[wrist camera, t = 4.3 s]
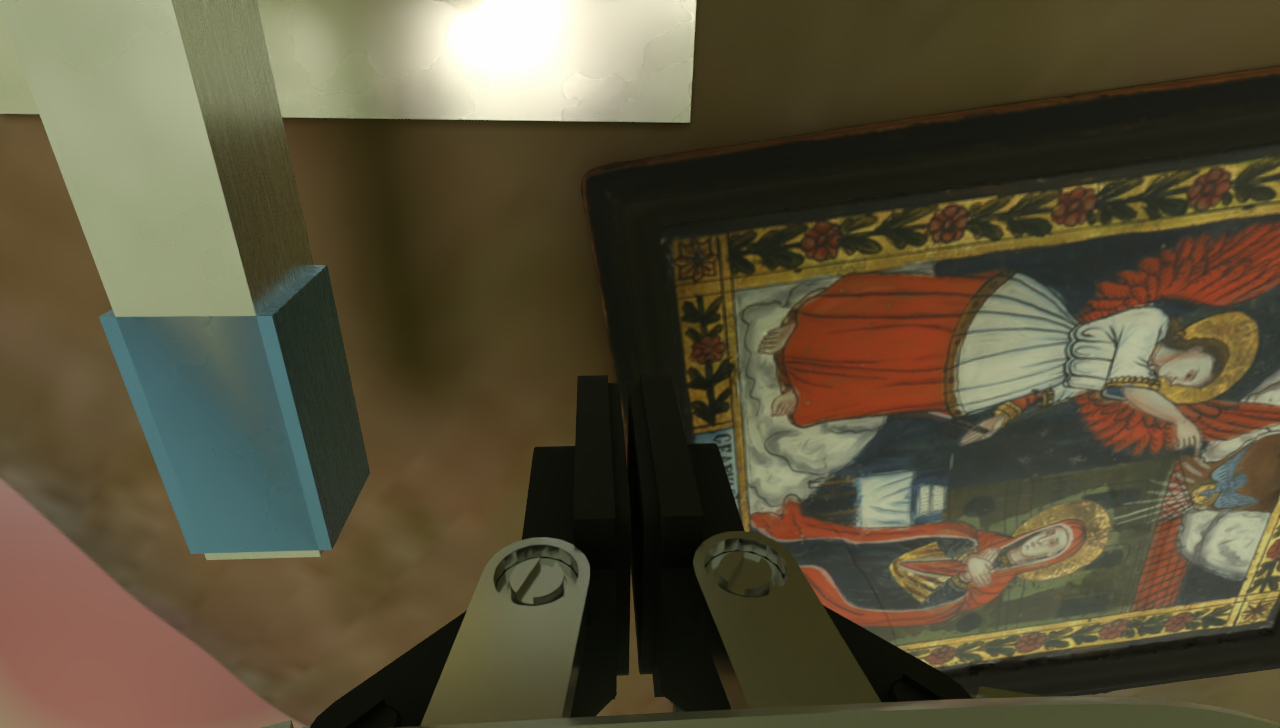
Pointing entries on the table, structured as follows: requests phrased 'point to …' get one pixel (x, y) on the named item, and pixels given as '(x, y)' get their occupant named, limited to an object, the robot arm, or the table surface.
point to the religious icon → (987, 370)
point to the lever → (202, 263)
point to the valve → (464, 60)
